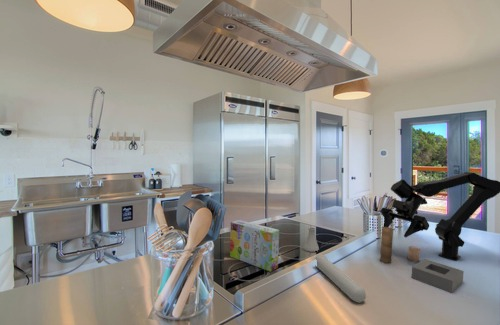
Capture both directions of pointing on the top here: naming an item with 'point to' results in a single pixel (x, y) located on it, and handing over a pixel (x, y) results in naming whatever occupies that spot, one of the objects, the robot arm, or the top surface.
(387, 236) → the tall pin
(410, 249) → the short pin
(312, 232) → the flask
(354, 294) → the tube
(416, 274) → the grey square socket block
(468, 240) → the top surface
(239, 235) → the snack box
